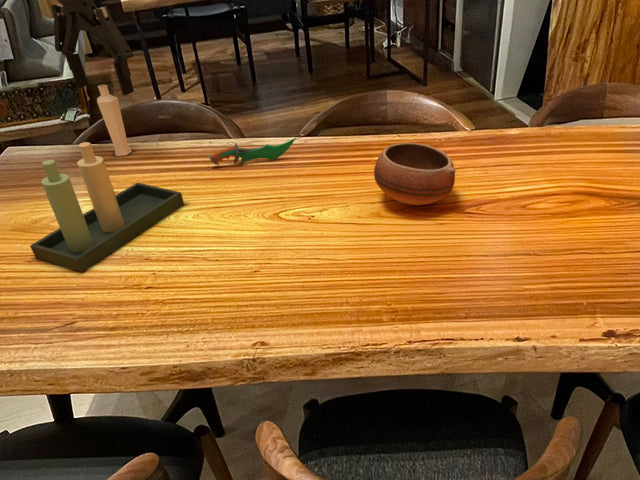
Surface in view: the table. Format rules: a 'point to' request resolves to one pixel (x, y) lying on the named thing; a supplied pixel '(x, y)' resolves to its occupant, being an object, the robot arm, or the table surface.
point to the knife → (251, 152)
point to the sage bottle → (66, 208)
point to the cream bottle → (100, 189)
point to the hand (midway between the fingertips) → (105, 90)
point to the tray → (138, 214)
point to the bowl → (414, 173)
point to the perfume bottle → (113, 120)
